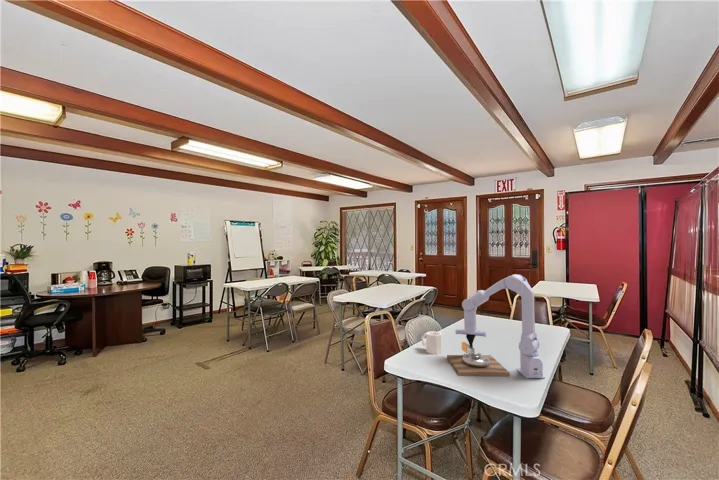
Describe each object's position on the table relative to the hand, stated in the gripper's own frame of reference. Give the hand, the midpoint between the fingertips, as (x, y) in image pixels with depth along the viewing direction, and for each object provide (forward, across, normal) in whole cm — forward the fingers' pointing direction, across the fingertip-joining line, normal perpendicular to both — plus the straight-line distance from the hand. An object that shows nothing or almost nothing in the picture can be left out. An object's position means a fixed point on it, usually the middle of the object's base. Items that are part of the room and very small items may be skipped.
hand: (471, 349), depth 161 cm
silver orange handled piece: (+3, -1, +6) cm, 7 cm away
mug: (+5, +21, -4) cm, 22 cm away
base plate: (+5, -3, +9) cm, 11 cm away
